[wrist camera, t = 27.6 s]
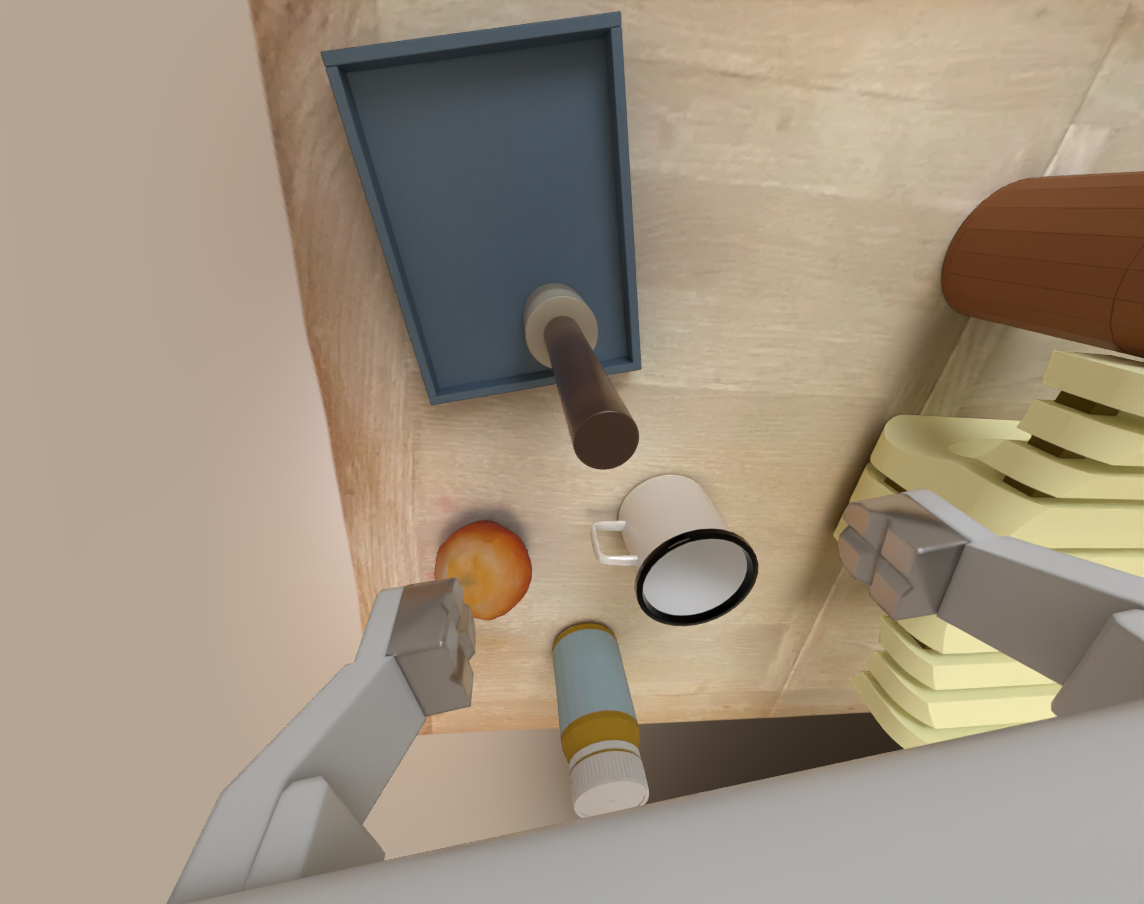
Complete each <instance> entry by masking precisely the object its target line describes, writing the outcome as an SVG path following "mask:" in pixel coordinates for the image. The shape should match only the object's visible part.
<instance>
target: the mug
mask: <svg viewBox="0 0 1144 904" xmlns="http://www.w3.org/2000/svg"><path fill="white" fill-rule="evenodd" d="M600 530H604V531H621V533H622V536H623V539H624V541H625V544H626V547H627V550H628V553H629V555H628V556H608V555H604V554H603V553H602V552H601V550H600V546H599V543H598V540H597V535H596V531H600ZM591 541H592V547H593V550H594V553H595V557H596V559H597V560H598V561H599V562H600V563H602V564H604V565H613V566H633V567H634V570H635V573H636V578H635V586H634V589H635V595H636V598H637V601H638V603H639V605H640V607H641V609H642V610H643V611H644V612H645V613H646V614H647V615H648V616H649V617H651V618H652V619H654V620H656V621H658V622H660V623H663V624H667V625H672V626H691V625H698V624H702V623H706V622H709V621H712V620H714V619H717V618H719V617H721V616H723V615H725V614H726V613H728V612H729V611H731V610H732V609H734V608H735V607H736V606H737V605H739V604H740V603H741V602H742V601H743V600H744V599H745V598H746V596H747V595H748V594H749V592H750V591H751V589H752V588H753V586H754V584H755V582H756V578H757V575H758V561H757V557H756V555H755V553H754V551H753V549H752V548H751V546H750V544H749V543H748V542H747V541H746V540H745V539H744V538H743V537H741V536H739V535H737V534H735V533H733V532H731V530H730V529H729V527H728V526H727V524H726V523H725V521H724V520H723V518H722V517H721V515H720V514H719V513H718V511H717V510H716V508H715V507H714V505H713V504H712V502H711V501H710V499H709V498H708V496H707V495H706V493H705V492H704V490H703V489H702V487H701V486H700V485H699V484H697V483H696V482H695V481H693V480H692V479H690V478H687V477H684V476H681V475H662V476H657V477H654V478H651V479H649V480H646V481H644V482H643V483H641V484H639V485H638V486H637V487H635V488H634V489H633V490H632V491H631V492H630V493H629V494H628V495H627V497H626V498H625V499H624V501H623V503H622V505H621V508H620V511H619V518H618V521H600V522H596V523H594V524H593V525H592V528H591Z"/></svg>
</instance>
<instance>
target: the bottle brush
mask: <svg viewBox="0 0 1144 904" xmlns="http://www.w3.org/2000/svg"><path fill="white" fill-rule="evenodd" d="M523 323H524V331H525V338H526V343H527V346H528V349H529V351H530V352H531V354H532V355H533V357H534V358H535V359H536V360H537V361H538V362H540V363H541V364H543V365H544V366H547V367H549V368H552V369H553V373H554V377H555V381H556V384H557V388H558V392H559V395H560V399H561V403H562V407H563V410H564V414H565V418H566V421H567V425H568V429H569V433H570V436H571V440H572V444H573V447H574V451H575V453H576V455H577V457H578V458H579V459H580V460H581V461H582V462H583V463H584V464H586V465H587V466H589V467H592V468H595V469H611V468H615V467H618V466H620V465H622V464H623V463H625V462H626V461H627V460H628V459H629V458H630V457H631V456H632V455H633V454H634V452H635V450H636V448H637V445H638V442H639V431H638V428H637V425H636V423H635V422H634V420H633V418H632V416H631V415H630V413H629V411H628V410H627V408H626V406H625V404H624V403H623V401H622V399H621V398H620V396H619V394H618V392H617V391H616V389H615V387H614V386H613V384H612V382H611V380H610V379H609V377H608V375H607V374H606V372H605V370H604V368H603V367H602V365H601V363H600V362H599V360H598V358H597V356H596V355H595V353H594V351H593V350H594V348H595V346H596V343H597V338H598V326H597V321H596V318H595V316H594V314H593V313H592V311H591V310H590V308H589V307H588V306H587V304H586V303H585V302H584V301H583V299H582V298H581V297H580V296H579V294H578V293H577V292H576V291H575V290H573V289H572V288H571V287H569V286H567V285H564V284H559V283H550V284H545V285H543V286H541V287H539V288H537V289H536V290H535V291H533V292H532V293H531V295H530V296H529V297H528V299H527V301H526V303H525V305H524V309H523Z"/></svg>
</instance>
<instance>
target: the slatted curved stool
mask: <svg viewBox="0 0 1144 904" xmlns="http://www.w3.org/2000/svg"><path fill="white" fill-rule="evenodd" d="M1041 384H1043V385H1046V386H1049V387H1052V388H1055V389H1058V390H1061V392H1060V394H1059V395H1058V397H1057V398H1056V400H1055V401H1052V400H1036V399H1034V400H1033V402H1032V404H1031V406H1030V407H1029V409H1028V411H1027V413H1026V414H1025V416H1024V417H1023V418H1022V420H1021V421H1015V420H996V419H978V418H959V417H940V416H922V415H898V416H895V417H893V418H892V419H890V420H889V421H888V422H887V424H886V425H885V427H884V429H883V431H882V433H881V436H880V438H879V440H878V442H877V444H876V446H875V448H874V450H873V452H872V454H871V456H870V461H871V462H870V463H868V464H867V465H866V467H865V469H864V471H863V473H862V475H861V477H860V479H859V482H858V484H857V486H856V488H855V490H854V492H853V494H852V496H851V498H850V500H849V504H850V503H852V502H857V501H862V500H867V499H872V498H877V497H882V496H887V495H892V494H897V493H901V492H906V491H911V490H916V489H921V488H923V489H926V490H930V491H932V492H934V493H935V494H937V495H938V496H940V497H941V498H943V499H944V500H946V501H947V502H949V503H950V504H952V505H953V506H954V507H956V508H957V509H959V510H960V511H962V512H963V513H965V514H966V515H968V516H969V517H971V518H972V519H974V520H975V521H977V522H978V523H980V524H981V525H983V526H984V527H986V528H987V529H988V530H990V531H991V532H993V533H994V534H996V535H997V536H999V537H1003V536H1010V537H1013V538H1016V539H1020V540H1023V541H1026V542H1029V543H1032V544H1036V545H1039V546H1042V547H1045V548H1049V549H1052V550H1055V551H1058V552H1062V553H1065V554H1068V555H1071V556H1075V557H1078V558H1081V559H1084V560H1087V561H1091V562H1094V563H1097V564H1100V565H1104V566H1107V567H1110V568H1113V569H1117V570H1120V571H1123V572H1126V573H1130V574H1133V575H1136V576H1139V577H1143V578H1144V362H1139V361H1135V360H1130V359H1126V358H1121V357H1117V356H1112V355H1101V354H1089V353H1077V352H1066V351H1054V350H1052V354H1051V357H1050V361H1049V364H1048V367H1047V370H1046V373H1045V375H1044V378H1043V381H1042V383H1041ZM1030 434H1032V436H1030ZM844 513H845V511H844ZM844 513H843V515H842V517H841V519H840V521H839V523H838V526H837V528H836V530H835V532H834V537H835V539H836V540H837V541H839V535H840V534H841V533H842V532H843V531H844V529H845V528H846V527H847V526H848V524H847V523H846V521H845V520H844V519H843V517H844ZM868 586H869V585H868ZM936 615H937V614H933V615H927V616H922V617H916V618H910V619H904V620H898V621H893V620H892V619H891V618H890V617H889V616H880V636H879V641H878V642H879V643H880V644H881V645H882V646H883V648H884V649H885V651H875V652H874V654H873V656H872V658H871V660H870V661H869V662H868V664H867V665H866V666H867V668H868V669H869V670H870V671H864V672H860V673H858V674H857V675H856V676H855V677H853V678H852V679H850V680H849V682H850V683H851V685H852V686H853V688H854V689H855V690H856V692H857V693H858V695H859V696H860V697H861V699H862V700H863V702H864V703H865V704H866V706H867V707H868V709H869V710H870V711H871V713H872V714H873V715H874V717H875V718H876V720H877V721H878V722H879V724H880V725H881V726H882V728H883V729H884V730H885V731H886V732H887V733H888V734H889V735H890V737H892V739H894V740H895V741H896V742H897V743H898V744H899V745H900V746H902V747H903V748H904V749H908V748H912V747H917V746H922V745H926V744H931V743H936V742H940V741H945V740H950V739H954V738H959V737H964V736H968V735H973V734H978V733H983V732H987V731H992V730H997V729H1001V728H1006V727H1011V726H1015V725H1020V724H1025V723H1029V722H1034V721H1039V720H1043V719H1048V718H1053V717H1057V716H1056V715H1055V714H1054V713H1053V712H1052V711H1051V702H1052V701H1053V699H1054V698H1055V696H1056V695H1057V693H1058V692H1059V690H1060V689H1061V688H1062V685H1060V684H1058V683H1056V682H1054V681H1053V680H1051V679H1049V678H1047V677H1045V676H1043V675H1042V674H1040V673H1038V672H1036V671H1034V670H1033V669H1031V668H1029V667H1027V666H1025V665H1024V664H1022V663H1020V662H1018V661H1016V660H1014V659H1013V658H1011V657H1009V656H1007V655H1005V654H1004V653H1002V652H1000V651H998V650H996V649H995V648H993V647H991V646H989V645H987V644H985V643H984V642H982V641H980V640H978V639H976V638H975V637H973V636H971V635H969V634H967V633H966V632H964V631H962V630H960V629H958V628H956V627H955V626H953V625H951V624H949V623H947V622H946V621H944V620H942V619H940V618H938V617H937V616H936Z"/></svg>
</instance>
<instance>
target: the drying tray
mask: <svg viewBox="0 0 1144 904" xmlns="http://www.w3.org/2000/svg"><path fill="white" fill-rule="evenodd" d="M321 56H322V59H323V62H324V65H325V67H326V72H327V75H328V78H329V81H330V84H331V88H332V91H333V94H334V97H335V100H336V104H337V107H338V110H339V113H340V116H341V119H342V123H343V126H344V129H345V132H346V135H347V139H348V142H349V145H350V148H351V151H352V155H353V158H354V161H355V164H356V167H357V170H358V174H359V177H360V180H361V183H362V186H363V190H364V193H365V196H366V199H367V202H368V205H369V209H370V212H371V215H372V218H373V221H374V225H375V228H376V231H377V234H378V237H379V241H380V244H381V247H382V250H383V253H384V256H385V260H386V263H387V266H388V269H389V272H390V276H391V279H392V282H393V285H394V288H395V292H396V295H397V298H398V301H399V304H400V307H401V311H402V314H403V317H404V320H405V323H406V327H407V330H408V333H409V336H410V339H411V342H412V346H413V349H414V352H415V355H416V358H417V362H418V365H419V368H420V371H421V374H422V378H423V381H424V384H425V387H426V390H427V393H428V397H429V400H430V403H431V405H436V404H442V403H448V402H454V401H460V400H465V399H471V398H477V397H483V396H489V395H495V394H500V393H506V392H512V391H518V390H524V389H530V388H536V387H541V386H547V385H553V384H556V381H555V377H554V373H553V369H552V368H549V367H547V366H544V365H543V364H541V363H540V362H538V361H537V360H536V359H535V358H534V357H533V355H532V354H531V352H530V351H529V349H528V346H527V343H526V338H525V331H524V323H523V309H524V305H525V303H526V301H527V299H528V297H529V296H530V295H531V293H532V292H533V291H535V290H536V289H537V288H539V287H541V286H543V285H545V284H550V283H559V284H564V285H567V286H569V287H571V288H572V289H573V290H575V291H576V292H577V293H578V294H579V296H580V297H581V298H582V299H583V301H584V302H585V303H586V304H587V306H588V307H589V308H590V310H591V311H592V313H593V314H594V316H595V318H596V321H597V326H598V338H597V343H596V346H595V348H594V350H593V351H594V353H595V355H596V356H597V358H598V360H599V362H600V363H601V365H602V367H603V368H604V370H605V372H606V374H607V375H612V374H617V373H623V372H629V371H635V370H641V354H640V337H639V319H638V302H637V285H636V267H635V250H634V233H633V215H632V198H631V181H630V164H629V146H628V129H627V112H626V94H625V77H624V60H623V42H622V28H621V12H620V11H618V12H611V13H603V14H596V15H588V16H581V17H574V18H566V19H559V20H551V21H544V22H537V23H529V24H522V25H514V26H507V27H500V28H492V29H485V30H477V31H470V32H463V33H455V34H448V35H440V36H433V37H426V38H418V39H411V40H403V41H396V42H388V43H381V44H374V45H366V46H359V47H351V48H344V49H337V50H329V51H322V52H321Z"/></svg>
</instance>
